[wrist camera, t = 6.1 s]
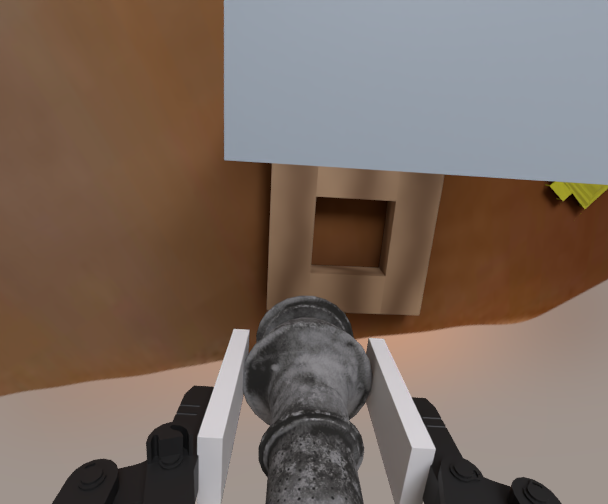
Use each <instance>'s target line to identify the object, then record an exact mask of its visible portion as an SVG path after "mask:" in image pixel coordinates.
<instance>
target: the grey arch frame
mask: <svg viewBox="0 0 608 504" xmlns="http://www.w3.org/2000/svg"><path fill="white" fill-rule="evenodd" d="M224 160H231V161H246V162H262V163H277V164H293V165H308V166H324V167H339V168H355V169H370V170H386V171H401V172H417V173H432V174H448V175H463V176H479V177H494V178H510V179H525V180H541V181H556V182H572V183H587V184H603V185H608V0H224Z"/></svg>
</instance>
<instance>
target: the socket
mask: <svg viewBox="0 0 608 504" xmlns="http://www.w3.org/2000/svg"><path fill="white" fill-rule="evenodd" d="M444 175H445V174H432V173H417V172H401V171H386V170H370V169H355V168H339V167H324V166H308V165H293V164H277V163H272V176H271V203H270V230H269V257H268V284H267V310H270V309H271V308H272V307H273V306H274V305H276V304H277V303H279V302H281V301H283V300H285V299H287V298H291V297H296V296H316V297H319V298H323V299H326V300H328V301H330V302H331V303H333V304H335V305H337V306H338V307H339V308H340V309H341V310H342V311H343V312H344V313H365V314H393V315H419V314H420V309H421V303H422V298H423V292H424V287H425V281H426V275H427V270H428V264H429V259H430V253H431V248H432V242H433V236H434V231H435V225H436V220H437V214H438V209H439V203H440V198H441V192H442V186H443V181H444ZM316 197H333V198H350V199H367V200H384V201H388V204H387V211H386V218H385V226H384V233H383V241H382V248H381V255H380V263H379V268H374V267H352V266H329V265H311V259H312V246H313V232H314V219H315V206H316Z"/></svg>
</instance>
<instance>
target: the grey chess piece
mask: <svg viewBox="0 0 608 504" xmlns="http://www.w3.org/2000/svg"><path fill="white" fill-rule="evenodd" d="M256 337H257V343H256V344H255V345H254V347H253V348H252V350H251V351H250V353H249V354H248V356H247V357H246V361H245V364H244V371H243V393H244V396H245V398H246V401H247V403H248V405H249V406H250V407H251V409H252V410H253V412H254V413H255V414H256V415H257V416H258V417H259V418H261V419H262V420H263V421H264V422H265V423H267V424H268V425H270V427H269V428H268V429H267V431H266V432H265V434H264V435H263V436H262V439H261V443H260V445H259V462H260V465H261V468H262V470H263V472H264V473H265V474H266V476H267V477H268V480H267V493H266V504H364V503H363V498H362V493H361V488H360V483H359V478H358V472H357V471H358V469H359V467H360V465H361V463H362V460H363V455H364V446H363V441H362V437H361V435H360V433H359V431H358V430H357V428H356V427H355V425H353V424H352V423H351V422H350V421H349V420H350V419H351V418H353V417H354V416H355V415H356V414H357V413H358V412H359V410H360V409H361V408H362V407H363V405H364V404H365V403H366V400H367V398H368V395H369V393H370V391H371V385H372V370H371V365H370V361H369V358H368V356H367V355H366V353H365V351H364V349H363V348H362V346H361V345H360V344H359V343H358V342H357V341H356V340H355V339H354V338H353V332H352V328H351V324H350V322H349V320H348V318H347V317H346V315H345V313H344V312H343V311H342V310H341V309H340V308H339V307H338V306H337V305H335V304H333V303H331V302H330V301H328V300H326V299H323V298H319V297H316V296H296V297H291V298H287V299H285V300H283V301H281V302H279V303H277V304H276V305H274V306H273V307H272V308H271V309H270V310H269V311H268V312H266V314H265V316H264V317H263V319H262V320H261V322H260V324H259V328H258V331H257V335H256Z"/></svg>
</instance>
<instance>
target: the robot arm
mask: <svg viewBox="0 0 608 504" xmlns="http://www.w3.org/2000/svg"><path fill="white" fill-rule="evenodd" d="M249 331H250V330H243V329H234V330H233V333H232V336H231V339H230V342H229V345H228V348H227V351H226V354H225V356H224V359H223V362H222V365H221V368H220V371H219V374H218V377H217V380H216V383H215V386H214V387H208V386H207V387H206V386H193V387H192V388H191V389H190V390H189V391H188V392H187V393H186V394H185V395H184V398H183V399H182V402H181V404H180V406H179V408H178V411H177V414H176V415H175V417H174V420H173V422H170V423H166V424H163V425H161V426H159V427H158V428H156V429H154V431H153V432H152V433H151V434H150V435H149V436H148V439H147V442H146V446H147V460H146V461H144V462H142V463H139V464H136V465H133V466H128V467H124V468H120V469H118V468H117V465H116V464H115V463H114V462H113V461H111V460H107V459H98V460H93V461H91V462H88V463H85V464H83V465H82V466H80V467H79V468H78V469H76V470H75V471H74V472H73V473H72V474H71V475H70V476H69V478H68V479H67V480H66V482H65V484H64V485H63V487H62V488H61V490H60V492H59V493H58V495H57V496H56V498H55V500H54V501H53V503H52V504H195V501H196V497H197V504H221V501H222V497H223V492H224V487H225V482H226V477H227V473H228V468H229V463H230V458H231V453H232V449H233V444H234V439H235V434H236V429H237V424H238V420H239V415H240V410H241V405H242V400H243V395H244V393H243V371H244V364H245V361H246V357H247V356H248V350H249ZM366 355H367V356H368V358H369V361H370V365H371V370H372V385H371V391H370V393H369V395H368V398H367V400H366V403H367V407H368V410H369V414H370V417H371V421H372V424H373V428H374V431H375V435H376V439H377V442H378V446H379V449H380V453H381V456H382V460H383V463H384V467H385V470H386V474H387V477H388V481H389V484H390V488H391V491H392V495H393V498H394V502H395V504H422V503H423V502H424V504H561V503H560V501H559V500H558V498H557V497H556V496H555V495H554V494H553V493H552V492H551V491H550V490H549V489H548V488H546V487H545V486H544V485H542V484H541V483H539V482H537V481H535V480H533V479H529V478H525V477H522V478H516V479H515V480H514V481H513V482H512V485H511V487H510V486H507V485H504V484H500V483H497V482H495V481H492V480H489V479H487V478H484V477H483V475H482V473H481V472H480V471H479V469H478V468H477V467H476V466H475V465H474V464H472V463H471V462H469V461H468V460H466V459H463V457H462V455H461V454H460V452H459V450H458V448H457V446H456V445H455V443H454V441H453V439H452V437H451V435H450V434H449V432H448V430H447V428H445V424H444V423H443V421H442V420H441V417H440V415H439V413H438V412H437V410H436V408H435V407H434V406H433V405H432V404H431V403H430V402H429V401H428V400H427V399H426V398H413V397H411V395H410V393H409V391H408V389H407V387H406V385H405V383H404V381H403V378H402V376H401V374H400V372H399V370H398V368H397V366H396V364H395V361H394V359H393V357H392V355H391V353H390V351H389V349H388V347H387V344H386V343H385V340H384V339H379V338H369V339H368V346H367V352H366Z"/></svg>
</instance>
